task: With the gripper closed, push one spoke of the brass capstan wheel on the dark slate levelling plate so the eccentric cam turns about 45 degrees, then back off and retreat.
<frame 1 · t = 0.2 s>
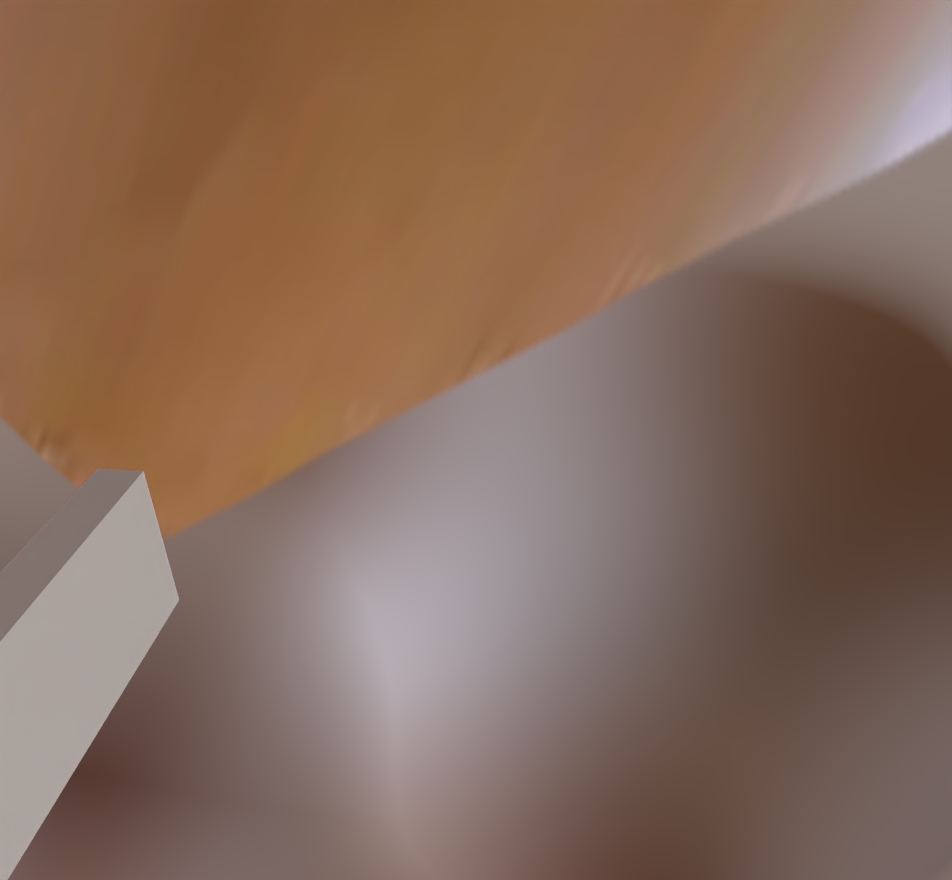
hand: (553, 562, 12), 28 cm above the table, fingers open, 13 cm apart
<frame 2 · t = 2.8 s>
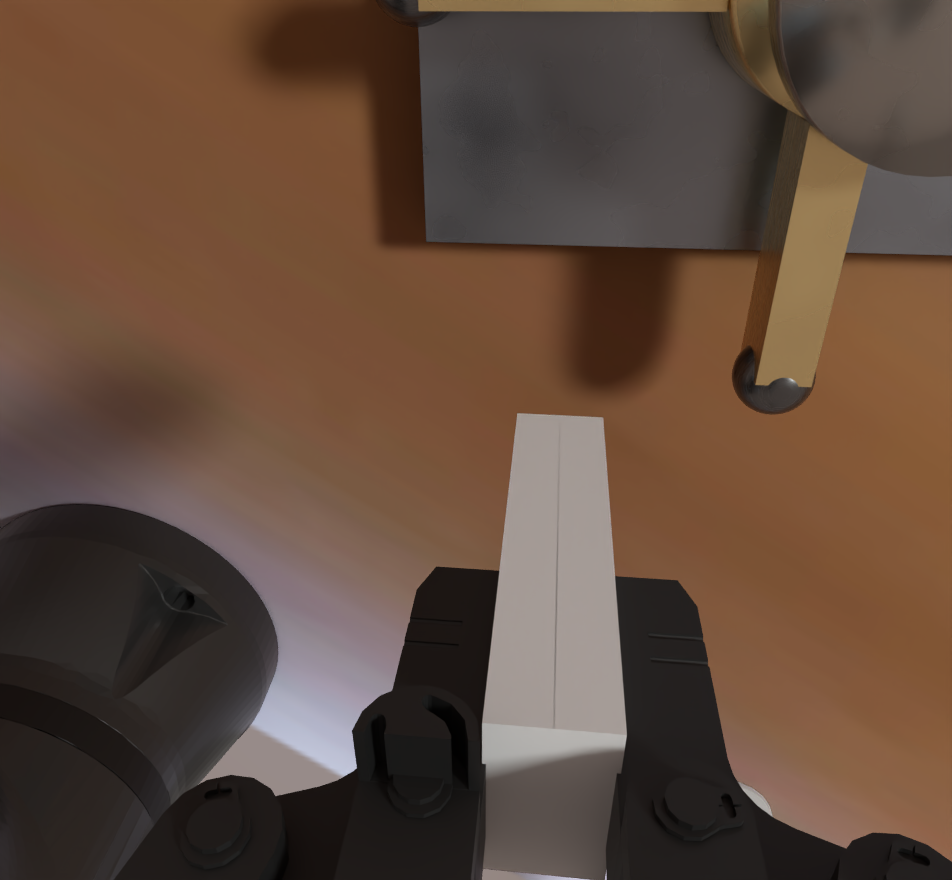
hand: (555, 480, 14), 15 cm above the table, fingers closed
wineglass: (703, 814, 43), on the table
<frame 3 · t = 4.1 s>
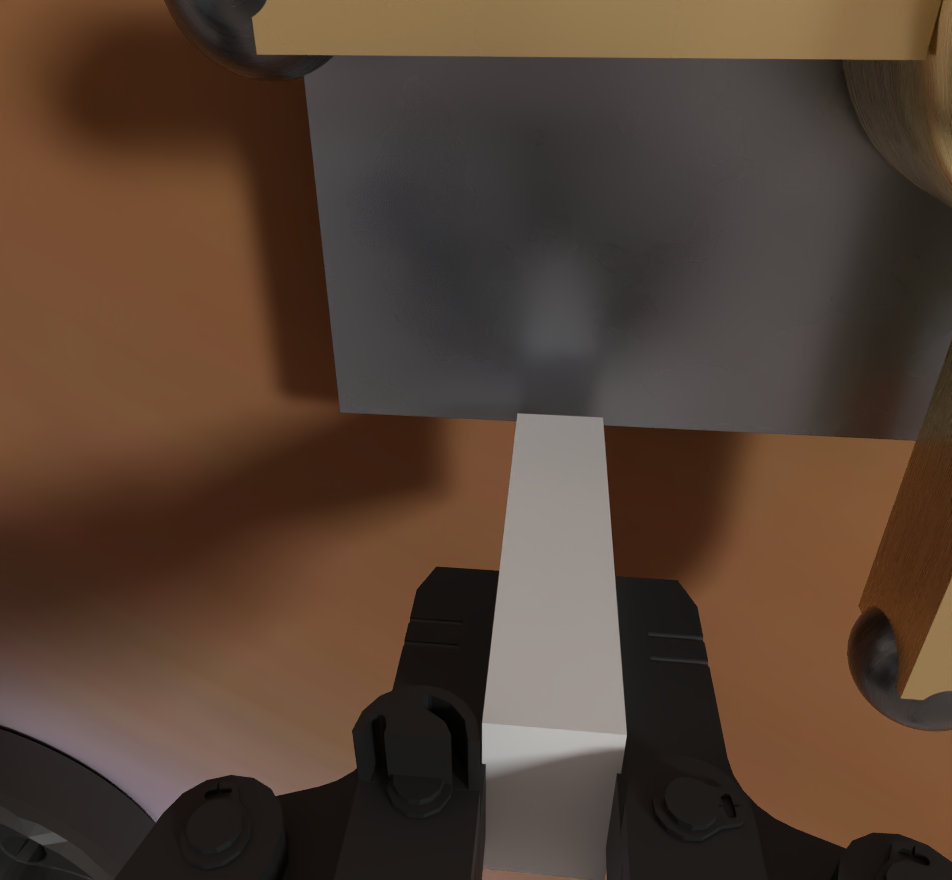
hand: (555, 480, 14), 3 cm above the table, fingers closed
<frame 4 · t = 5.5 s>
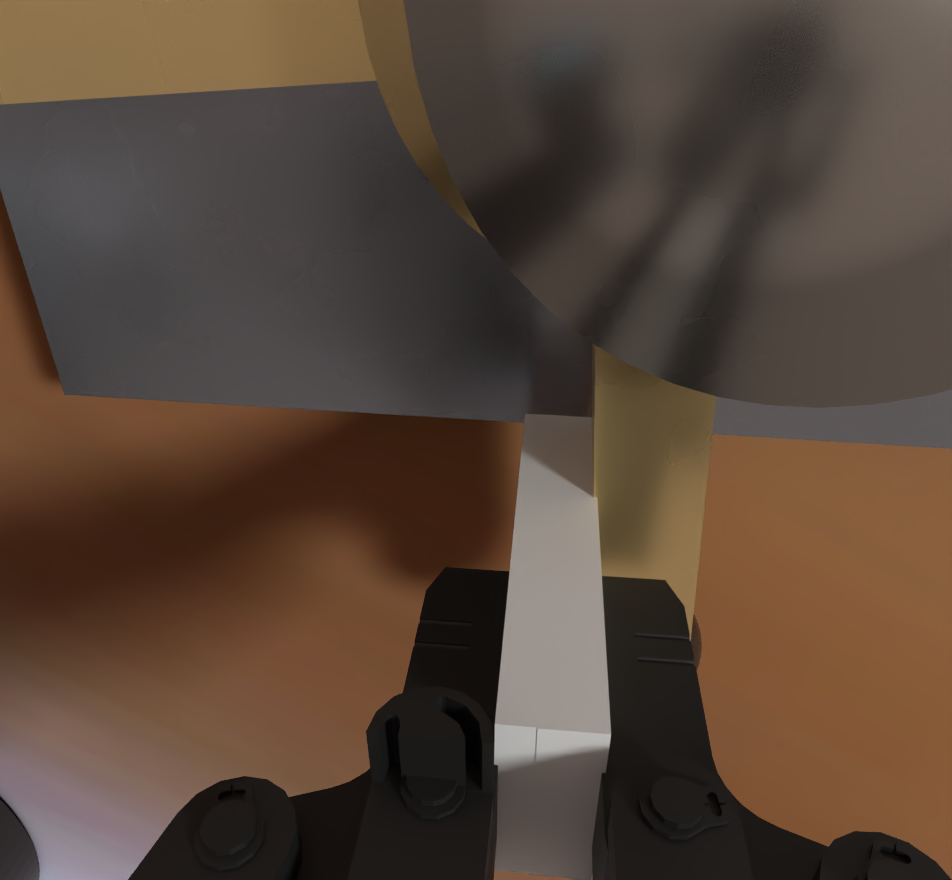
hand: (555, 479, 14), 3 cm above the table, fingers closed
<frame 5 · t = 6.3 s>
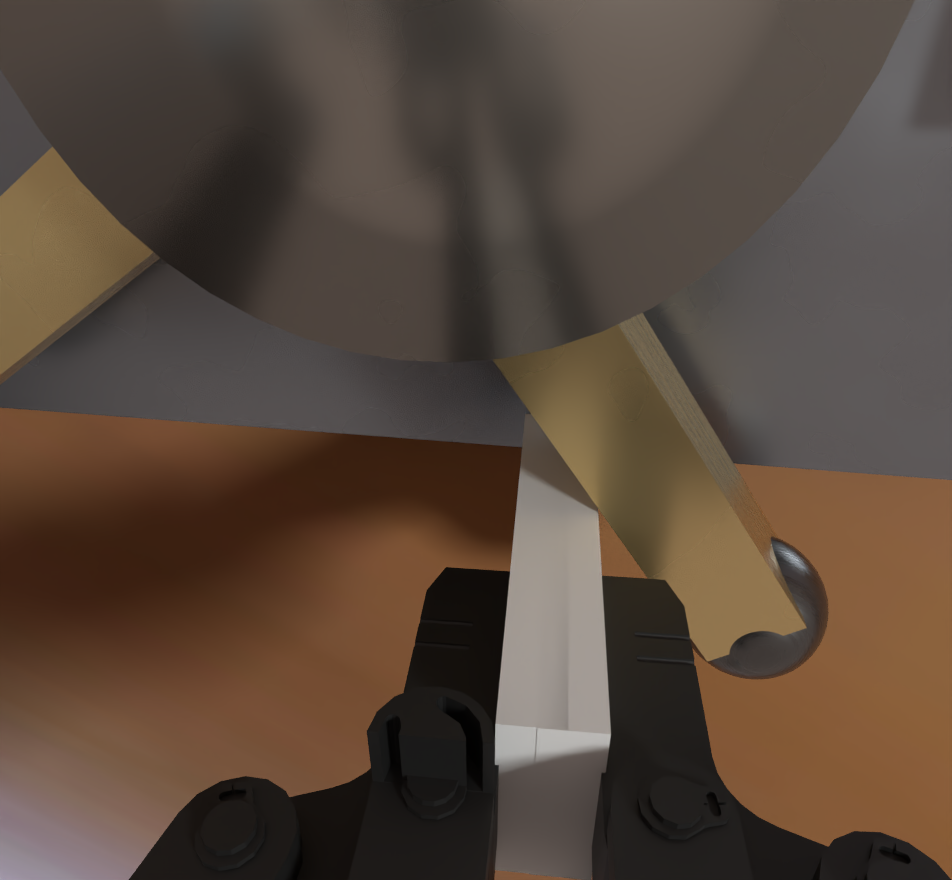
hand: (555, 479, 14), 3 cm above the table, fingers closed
capstan: (347, 2, 9), point 5 cm above the table, hinge at 35.0°, touching gripper
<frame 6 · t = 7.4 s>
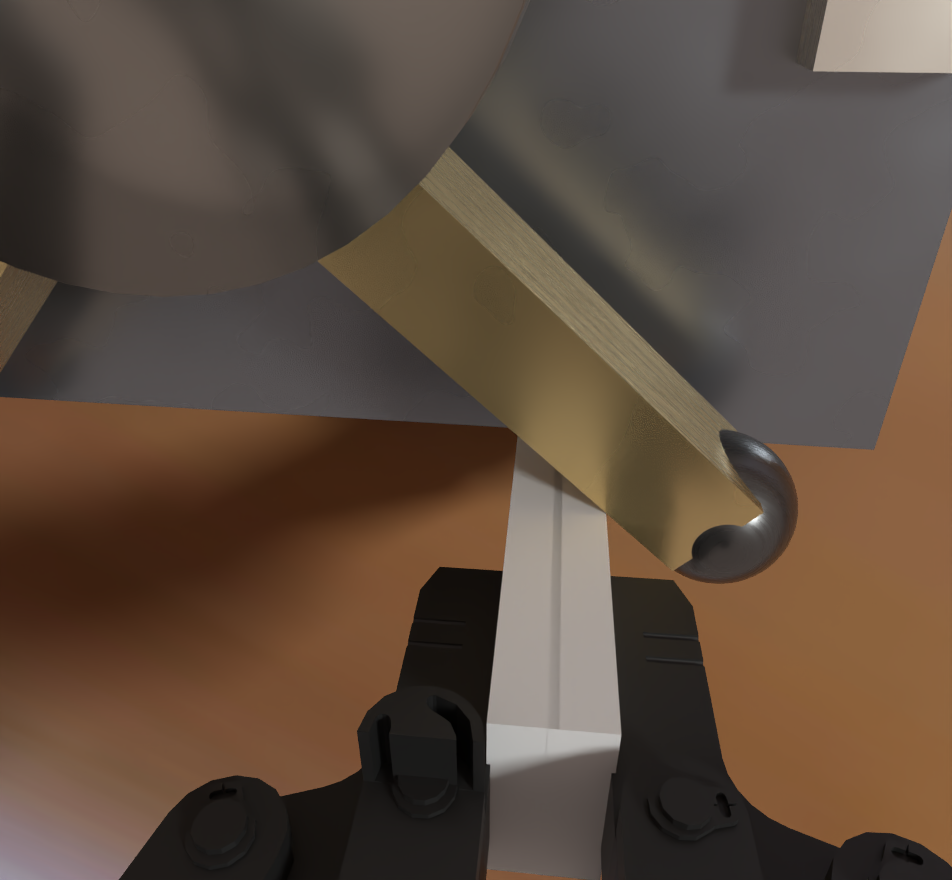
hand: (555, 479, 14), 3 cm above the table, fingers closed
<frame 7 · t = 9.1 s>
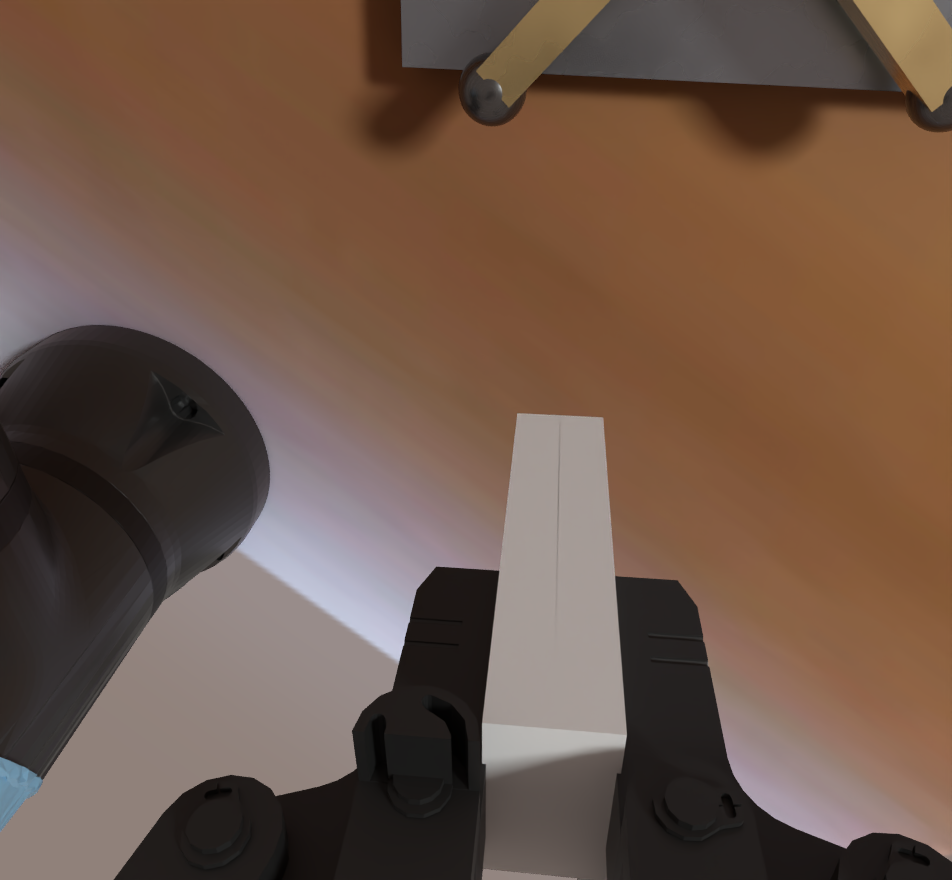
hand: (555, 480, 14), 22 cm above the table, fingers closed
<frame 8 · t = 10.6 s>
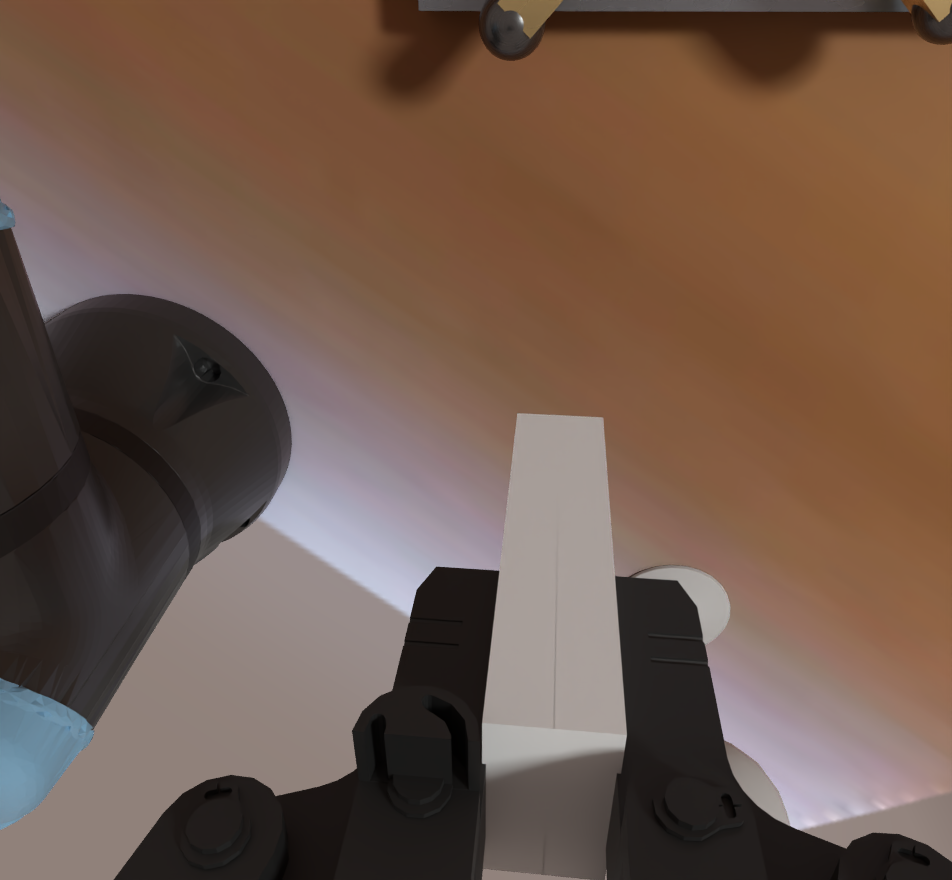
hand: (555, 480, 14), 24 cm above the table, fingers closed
wineglass: (669, 607, 48), on the table
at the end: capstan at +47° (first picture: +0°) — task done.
